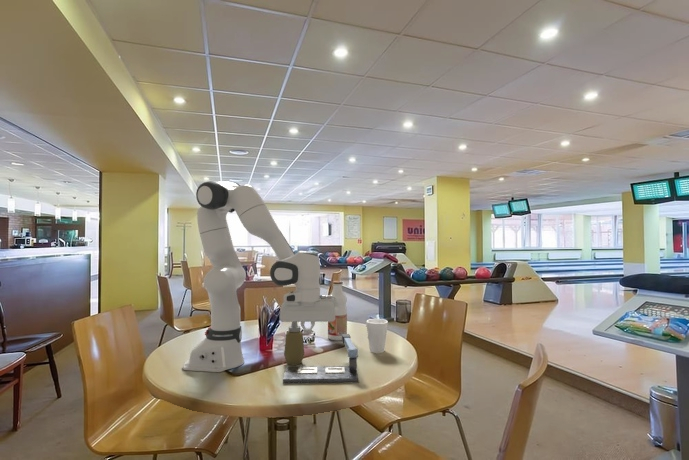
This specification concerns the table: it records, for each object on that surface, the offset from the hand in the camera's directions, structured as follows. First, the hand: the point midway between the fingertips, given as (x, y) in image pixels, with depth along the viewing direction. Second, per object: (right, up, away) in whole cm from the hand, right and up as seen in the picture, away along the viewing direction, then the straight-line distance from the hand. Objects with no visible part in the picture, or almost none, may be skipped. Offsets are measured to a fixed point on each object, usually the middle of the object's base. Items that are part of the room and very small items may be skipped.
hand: (307, 333), depth 131 cm
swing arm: (+15, -9, +9) cm, 20 cm away
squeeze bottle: (-7, -15, +13) cm, 21 cm away
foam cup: (+28, -16, +28) cm, 42 cm away
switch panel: (+5, -15, -1) cm, 16 cm away
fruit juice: (+10, -16, +47) cm, 51 cm away
